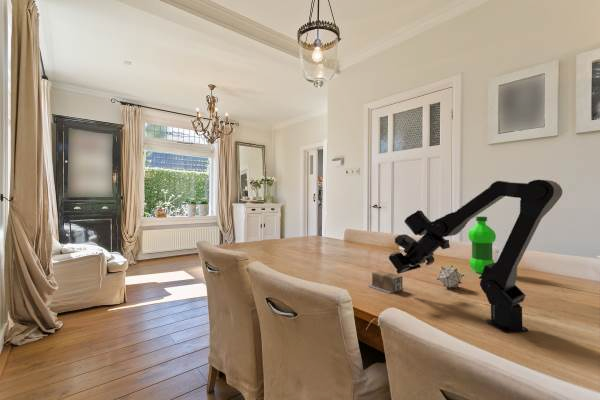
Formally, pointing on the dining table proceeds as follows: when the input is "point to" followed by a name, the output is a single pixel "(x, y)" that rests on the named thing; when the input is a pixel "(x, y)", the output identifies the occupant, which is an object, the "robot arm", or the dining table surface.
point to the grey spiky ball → (450, 277)
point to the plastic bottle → (481, 245)
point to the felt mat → (380, 289)
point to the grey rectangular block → (387, 281)
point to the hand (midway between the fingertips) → (397, 272)
